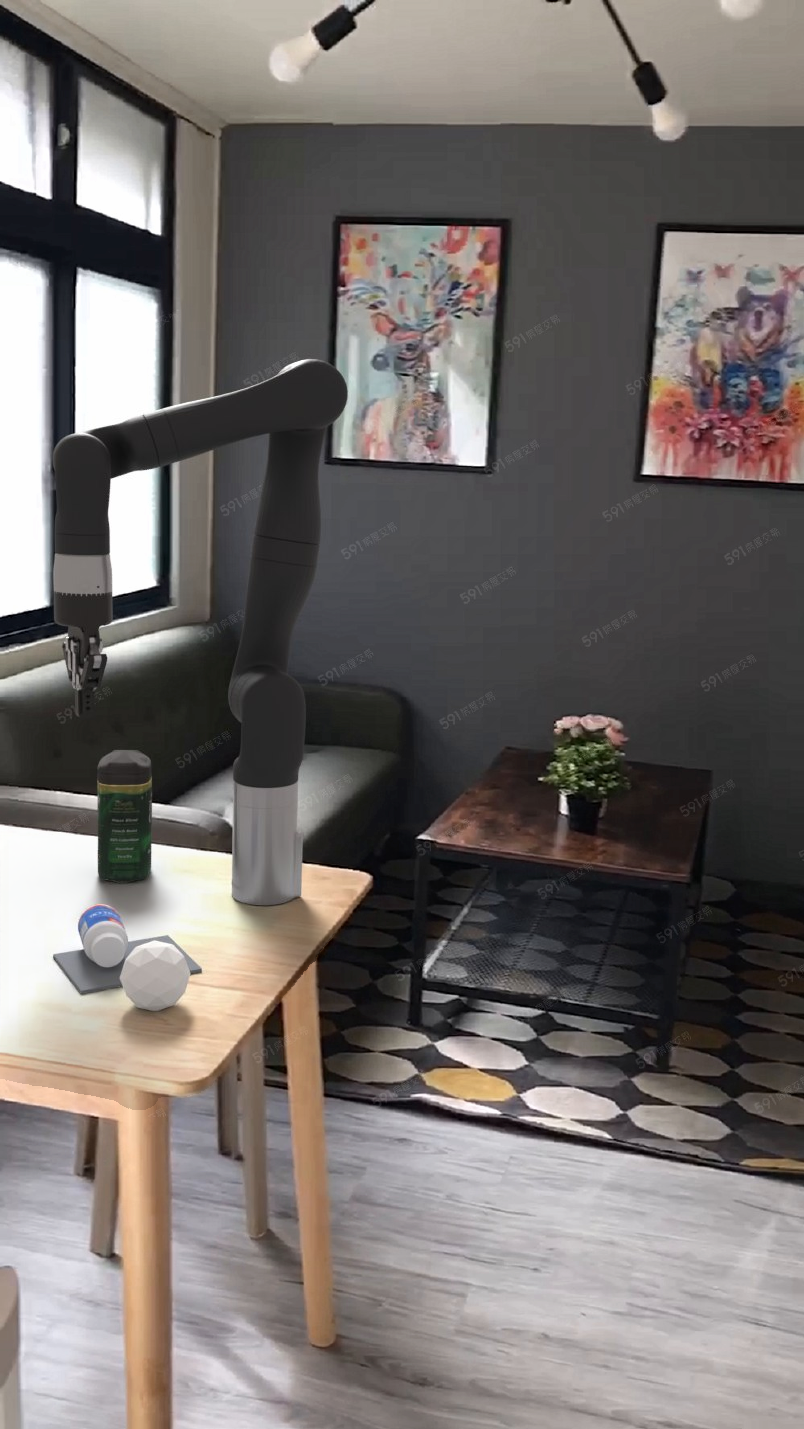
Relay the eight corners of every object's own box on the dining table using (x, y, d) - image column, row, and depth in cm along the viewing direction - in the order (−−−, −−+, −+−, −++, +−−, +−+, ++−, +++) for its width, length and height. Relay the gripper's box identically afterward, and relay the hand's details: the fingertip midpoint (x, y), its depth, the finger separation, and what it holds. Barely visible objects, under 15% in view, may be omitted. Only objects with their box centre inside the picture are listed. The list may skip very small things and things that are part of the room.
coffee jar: (150, 884, 185) (150, 761, 181) (95, 885, 183) (93, 761, 180) (153, 862, 194) (153, 745, 190) (101, 863, 193) (99, 745, 189)
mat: (167, 937, 165) (167, 935, 165) (201, 971, 155) (201, 968, 155) (53, 957, 157) (53, 954, 157) (81, 993, 147) (81, 990, 147)
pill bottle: (123, 904, 161) (136, 932, 153) (116, 944, 162) (128, 974, 153) (80, 901, 159) (91, 929, 150) (73, 941, 160) (83, 971, 151)
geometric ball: (136, 1029, 145) (97, 971, 145) (190, 988, 150) (152, 932, 149) (157, 1021, 139) (117, 961, 139) (213, 979, 143) (174, 921, 143)
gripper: (126, 593, 162) (127, 724, 166) (96, 582, 173) (97, 705, 177) (68, 594, 158) (71, 729, 162) (41, 583, 169) (43, 709, 173)
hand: (85, 716), depth 169 cm, fingers closed
